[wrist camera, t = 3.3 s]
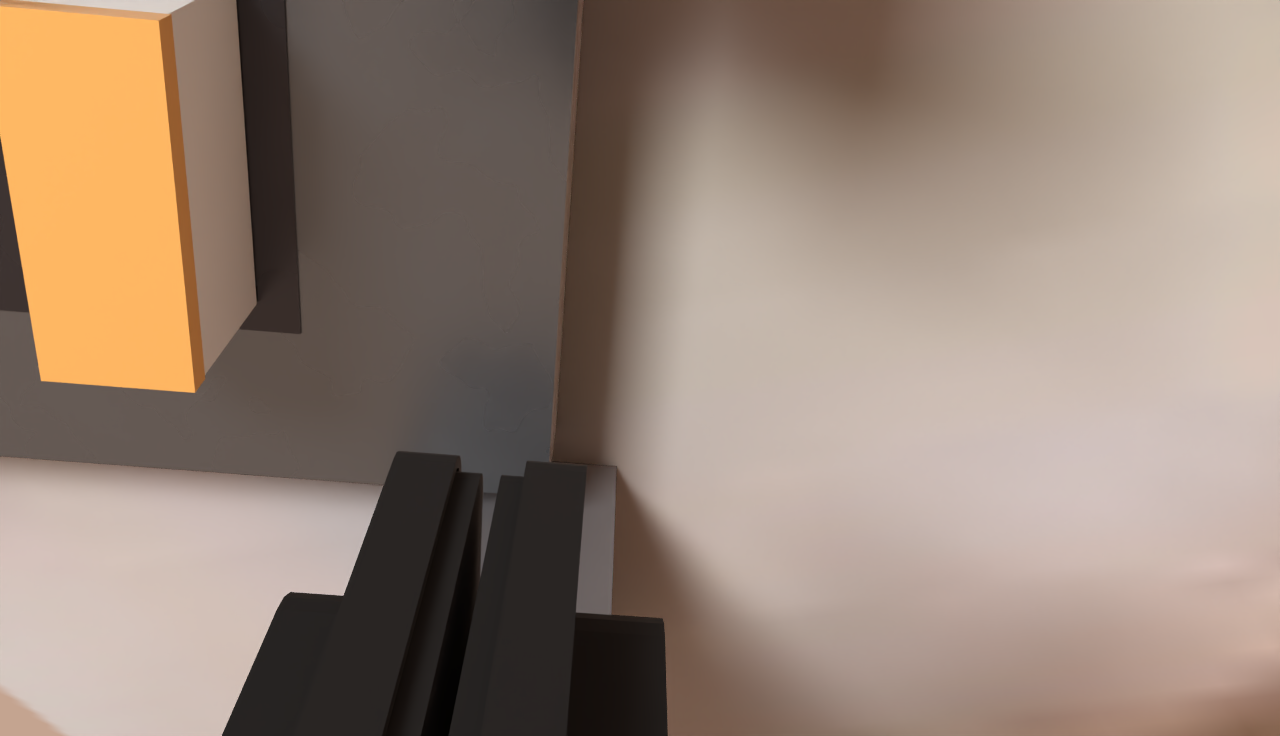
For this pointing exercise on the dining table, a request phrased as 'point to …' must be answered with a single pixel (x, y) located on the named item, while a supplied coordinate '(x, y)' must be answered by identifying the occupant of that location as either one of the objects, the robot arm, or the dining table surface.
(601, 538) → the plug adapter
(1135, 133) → the dining table surface
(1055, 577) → the dining table surface
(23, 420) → the breaker panel
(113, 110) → the block
